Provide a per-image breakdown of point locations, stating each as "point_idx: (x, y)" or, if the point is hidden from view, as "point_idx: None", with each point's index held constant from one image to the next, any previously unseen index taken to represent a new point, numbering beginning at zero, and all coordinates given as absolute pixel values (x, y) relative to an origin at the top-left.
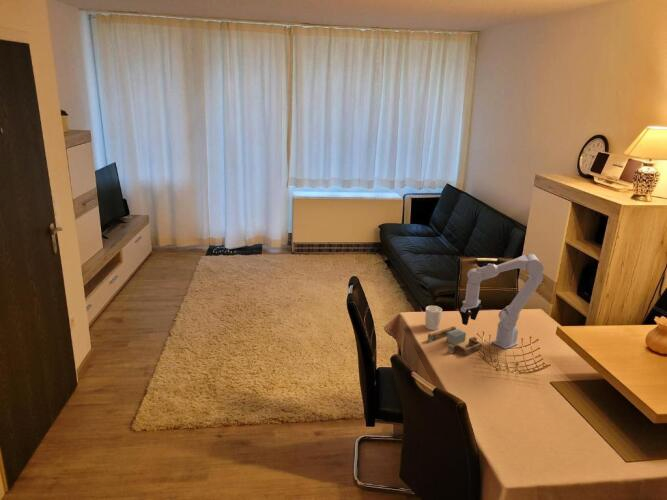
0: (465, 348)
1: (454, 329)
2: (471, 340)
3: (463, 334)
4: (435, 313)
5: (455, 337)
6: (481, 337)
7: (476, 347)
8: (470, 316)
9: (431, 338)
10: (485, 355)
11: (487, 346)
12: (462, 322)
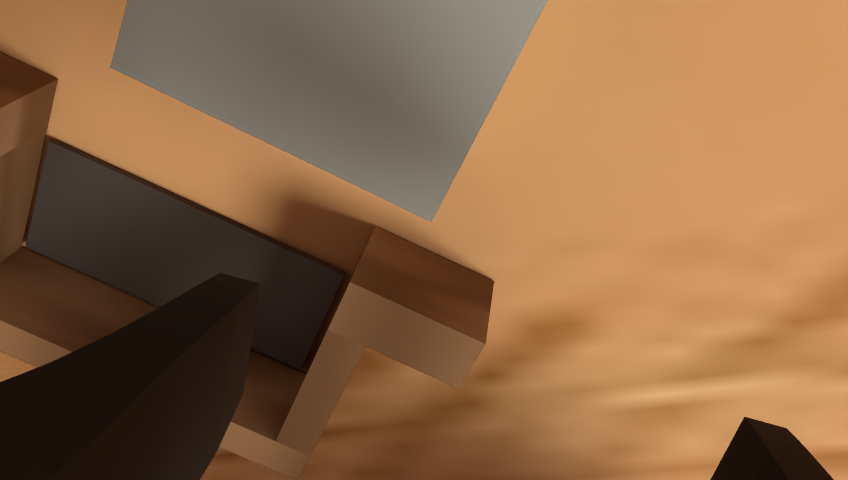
0: (188, 220)
1: None
2: (334, 316)
3: (364, 179)
4: None
5: (124, 61)
6: (760, 358)
7: None
8: (771, 460)
9: None
10: (205, 470)
11: (478, 465)
12: (191, 295)
